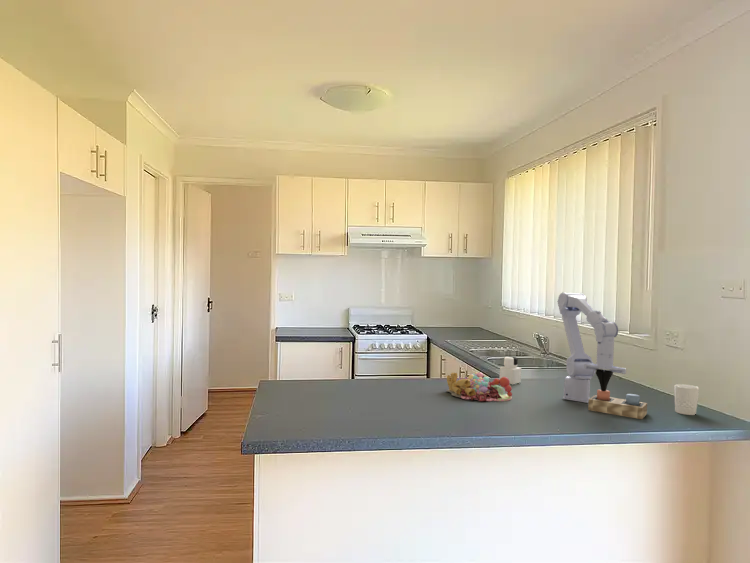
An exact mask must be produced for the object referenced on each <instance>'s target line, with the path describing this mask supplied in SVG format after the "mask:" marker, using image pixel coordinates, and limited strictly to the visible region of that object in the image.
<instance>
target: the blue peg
mask: <svg viewBox="0 0 750 563" xmlns="http://www.w3.org/2000/svg"><path fill="white" fill-rule="evenodd" d="M640 398H641V395H638V394H635V393H634V394H633V393H627V394H625V400H626V404H631V405H637V406H639V403H640V402H641V401H640Z"/></svg>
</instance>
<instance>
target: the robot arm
mask: <svg viewBox="0 0 750 563" xmlns="http://www.w3.org/2000/svg"><path fill="white" fill-rule="evenodd" d="M587 298H588V297H587V296H586V295H585V294H584V293H583V292H578V293H577V292H576V293H575V292H564V291H562V292H561V293H560V294H559V295H558V298H557V306H558V310H559V313H560V315H561V320H562V322H563V327H564V331H565V335H566V339H567V343H568V347H569V352H570V355H569V356H568V357H567V359H566V360H565V362H566V368H565V369H566V373H567V375H568V376H565V377H564V384H563V396H562V399H563V400H568V401H575V402H579V403H580V402H581V403H587V404H588V402H589V399H590V398H591V396H590V395H591V394H590V393H591V391H590V390H591V380H593V377H594V376H595V374H596V376H597V379H598V382H599V384H600V390H601V391H606V390H608V385H609V382H610V379H611V378H612V376H613V374H614V373H617V374H623V375H626V374H627V368H626V367H622V366H621V367H620V366H614V353H615V338H617V337H618V333H619V326H618V325H617V323H616V322H614V321H609V320H608V318H606V317H605V316H604V315H603V313H602V311H601V310H597V309H595V310H594V309H593V307H592V306H591V305H590V304H589V302H588V299H587ZM581 313H583V315H585V316H586V318H585V319H586V321H587V322H588V323H589V325H591V327H592V328H593V329H594V330H593V331H594V335H595V340H596V342H597V345H596V363H594V361H593V359H592V357H591V356H590V355H589V354H587V353H586V352H585V348H584V346H583V341H582V337H581V333H580V329H579V325H578V321H577V316H578V315H580V314H581Z"/></svg>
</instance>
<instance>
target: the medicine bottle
mask: <svg viewBox="0 0 750 563" xmlns="http://www.w3.org/2000/svg"><path fill="white" fill-rule="evenodd" d="M518 360H519V359H518V357H515V356H512V355H511V356H505V357H504V358H503V365H504V366H500V367H499V376H498V377H499V378H498V379H499V380H500V379H501V378H502V377H507V378H508V379H509V381H510V384H515V383H519V382H522V367H519V366H518V365H519V364H518V363H519V362H518ZM510 384H509V385H510ZM519 384H520V383H519ZM515 385H516V384H515Z"/></svg>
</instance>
